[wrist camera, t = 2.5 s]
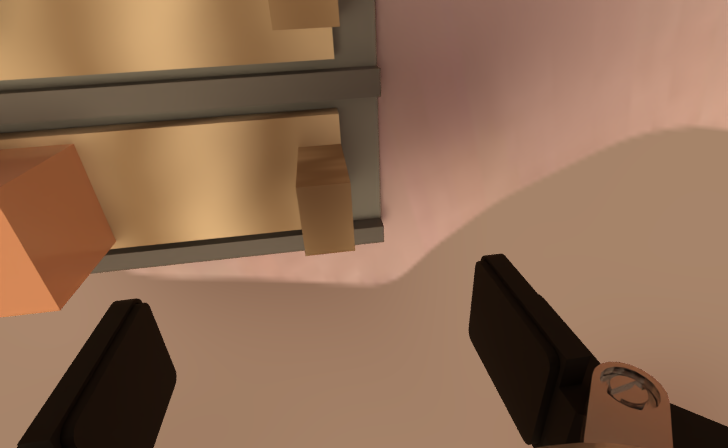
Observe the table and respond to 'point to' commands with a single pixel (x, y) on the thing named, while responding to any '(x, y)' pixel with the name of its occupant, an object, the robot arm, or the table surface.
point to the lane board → (227, 98)
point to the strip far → (216, 177)
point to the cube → (47, 228)
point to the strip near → (159, 35)
